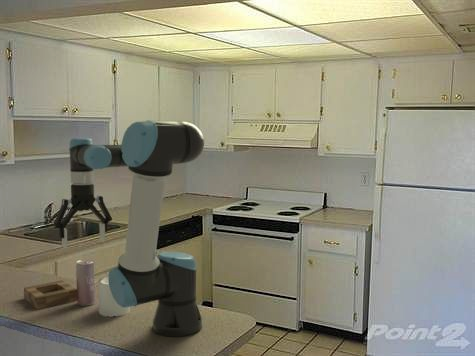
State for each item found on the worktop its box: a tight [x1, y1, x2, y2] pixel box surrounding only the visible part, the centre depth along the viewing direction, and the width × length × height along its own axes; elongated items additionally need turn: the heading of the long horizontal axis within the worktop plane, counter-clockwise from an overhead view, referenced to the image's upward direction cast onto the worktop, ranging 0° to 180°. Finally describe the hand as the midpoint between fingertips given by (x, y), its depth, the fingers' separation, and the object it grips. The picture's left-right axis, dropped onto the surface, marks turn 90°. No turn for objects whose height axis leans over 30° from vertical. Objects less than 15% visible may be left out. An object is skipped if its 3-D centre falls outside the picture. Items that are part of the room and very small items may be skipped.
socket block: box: [23, 279, 77, 310], centre depth 184 cm, size 14×14×4 cm
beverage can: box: [75, 259, 96, 307], centre depth 179 cm, size 6×6×15 cm
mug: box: [97, 276, 131, 318], centre depth 174 cm, size 14×10×11 cm
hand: (84, 244), depth 178 cm, fingers open, 13 cm apart
